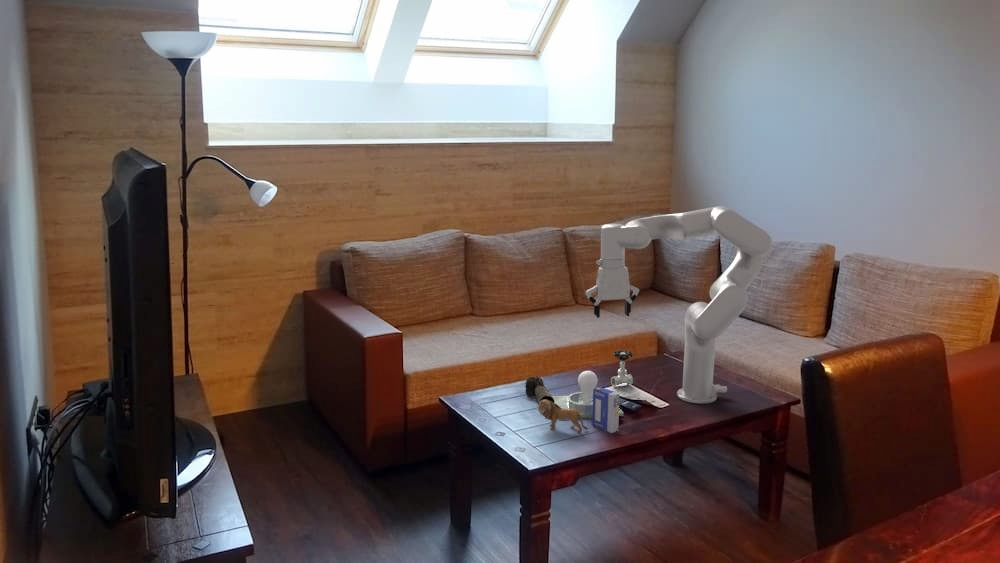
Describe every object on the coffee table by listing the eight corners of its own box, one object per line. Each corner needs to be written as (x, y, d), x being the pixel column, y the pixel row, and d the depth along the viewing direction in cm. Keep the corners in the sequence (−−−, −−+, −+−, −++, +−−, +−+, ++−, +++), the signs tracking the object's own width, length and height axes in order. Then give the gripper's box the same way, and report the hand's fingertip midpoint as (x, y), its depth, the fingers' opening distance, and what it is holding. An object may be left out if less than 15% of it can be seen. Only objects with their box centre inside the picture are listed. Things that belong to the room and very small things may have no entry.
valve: (608, 384, 273) (609, 351, 270) (624, 382, 275) (626, 348, 273) (618, 391, 267) (619, 356, 264) (635, 388, 270) (636, 354, 267)
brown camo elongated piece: (554, 408, 253) (554, 391, 251) (533, 409, 251) (533, 392, 250) (541, 388, 270) (541, 372, 268) (521, 389, 268) (521, 373, 267)
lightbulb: (596, 401, 254) (598, 368, 252) (596, 408, 249) (597, 375, 246) (577, 400, 255) (578, 367, 253) (576, 407, 249) (577, 373, 247)
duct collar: (611, 397, 261) (611, 388, 260) (623, 416, 245) (623, 406, 245) (550, 399, 259) (550, 390, 258) (559, 419, 243) (559, 409, 243)
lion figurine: (537, 431, 234) (537, 402, 232) (538, 424, 240) (539, 396, 237) (587, 434, 233) (588, 405, 231) (588, 427, 238) (588, 398, 236)
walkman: (591, 425, 239) (593, 387, 236) (598, 423, 241) (599, 385, 238) (612, 433, 233) (613, 394, 230) (618, 431, 235) (620, 392, 232)
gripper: (588, 267, 247) (588, 320, 251) (642, 264, 249) (641, 317, 253) (583, 262, 255) (583, 314, 258) (636, 259, 257) (635, 311, 260)
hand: (612, 315), depth 256 cm, fingers open, 9 cm apart
